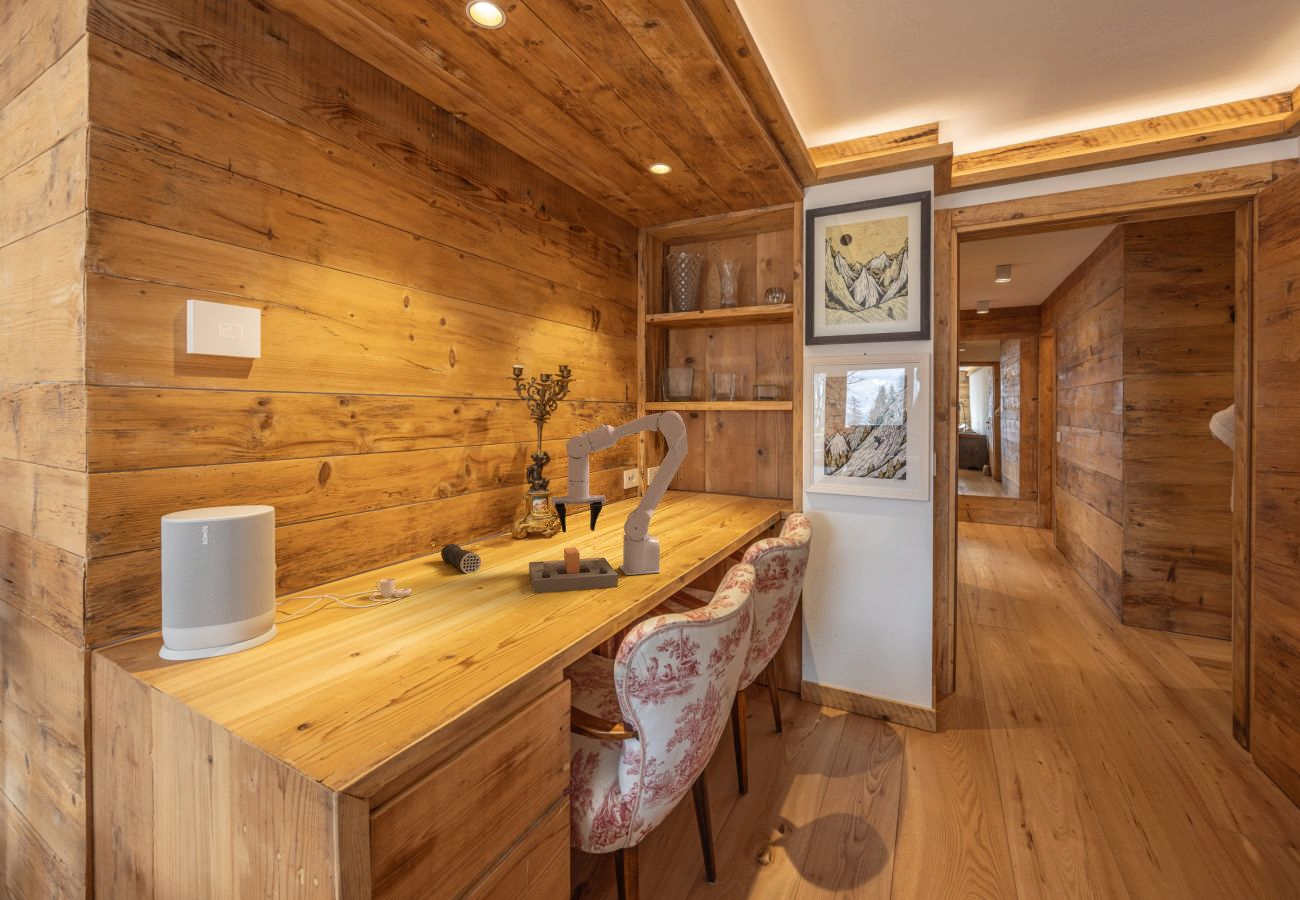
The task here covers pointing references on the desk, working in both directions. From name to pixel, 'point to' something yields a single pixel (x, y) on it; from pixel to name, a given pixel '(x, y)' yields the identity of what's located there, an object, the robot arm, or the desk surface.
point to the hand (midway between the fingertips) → (578, 530)
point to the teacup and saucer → (389, 590)
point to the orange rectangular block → (572, 559)
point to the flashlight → (461, 558)
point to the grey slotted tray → (572, 575)
